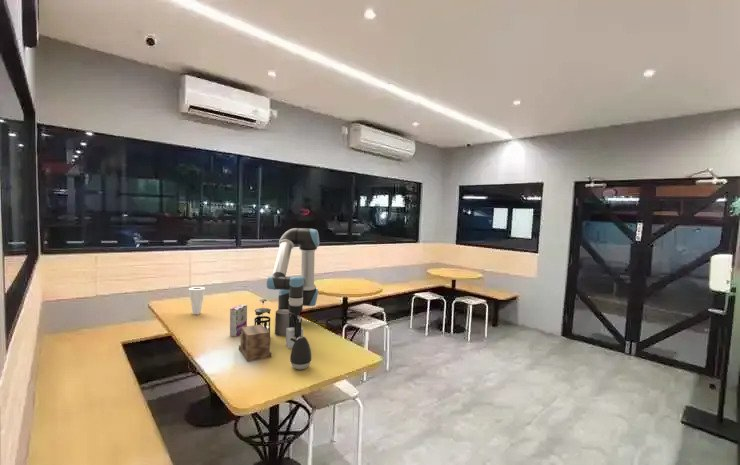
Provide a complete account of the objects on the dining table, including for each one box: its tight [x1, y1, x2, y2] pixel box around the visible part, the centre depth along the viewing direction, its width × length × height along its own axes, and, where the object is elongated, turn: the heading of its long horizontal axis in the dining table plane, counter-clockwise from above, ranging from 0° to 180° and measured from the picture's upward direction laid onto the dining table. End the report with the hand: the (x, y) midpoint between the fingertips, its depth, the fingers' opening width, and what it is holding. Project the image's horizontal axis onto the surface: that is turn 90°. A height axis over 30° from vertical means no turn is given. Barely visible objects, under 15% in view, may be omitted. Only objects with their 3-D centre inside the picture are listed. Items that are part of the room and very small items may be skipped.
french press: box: [253, 298, 272, 333], centre depth 207 cm, size 12×9×23 cm
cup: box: [188, 286, 206, 315], centre depth 249 cm, size 11×11×18 cm
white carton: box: [285, 326, 304, 350], centre depth 197 cm, size 8×5×10 cm, turn 123°
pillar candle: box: [274, 309, 291, 337], centre depth 217 cm, size 10×10×15 cm
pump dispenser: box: [289, 335, 312, 371], centre depth 170 cm, size 10×10×15 cm
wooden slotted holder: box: [238, 324, 272, 362], centre depth 185 cm, size 13×18×12 cm
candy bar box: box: [229, 304, 248, 337], centre depth 213 cm, size 11×5×16 cm, turn 168°
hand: (294, 345), depth 197 cm, fingers closed on white carton, 5 cm apart
